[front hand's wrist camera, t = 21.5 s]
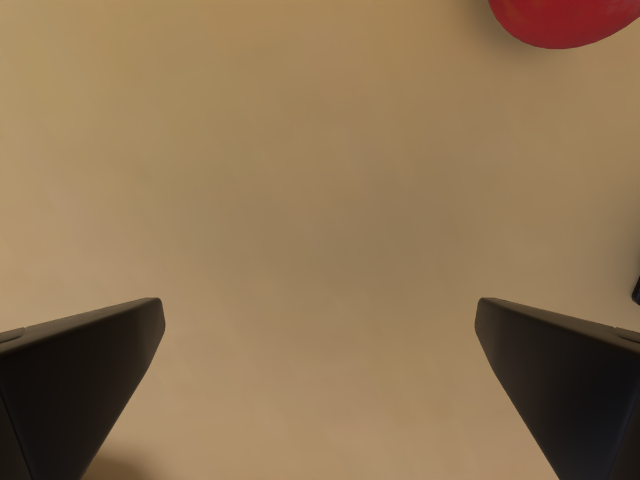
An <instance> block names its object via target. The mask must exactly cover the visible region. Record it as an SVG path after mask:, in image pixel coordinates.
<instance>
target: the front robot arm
mask: <svg viewBox="0 0 640 480" xmlns="http://www.w3.org/2000/svg"><path fill="white" fill-rule="evenodd" d="M632 300H633V301H634V302H635V303H637V304H638V305H640V277H639V280H638V282H637V284H636V286H635V289H634V291H633V293H632ZM164 331H165V318H164V312H163V306H162V302H161V300H160V299H159V298H142V299H138V300H134V301H130V302H126V303H122V304H118V305H114V306H110V307H106V308H102V309H98V310H94V311H90V312H86V313H82V314H77V315H73V316H69V317H65V318H61V319H57V320H53V321H49V322H45V323H41V324H37V325H33V326H29V327H26V329H25V328H24V327H23V328H18V329H14V330H10V331H6V332H2V333H0V480H81V478H82V476H83V475H84V473H85V471H86V470H87V468H88V467H89V465H90V463H91V462H92V460H93V458H94V457H95V455H96V453H97V452H98V450H99V449H100V447H101V445H102V444H103V442H104V440H105V439H106V437H107V435H108V434H109V432H110V431H111V429H112V427H113V426H114V424H115V422H116V421H117V419H118V417H119V416H120V414H121V413H122V411H123V409H124V408H125V406H126V404H127V403H128V401H129V399H130V398H131V396H132V395H133V393H134V391H135V390H136V388H137V386H138V385H139V383H140V381H141V380H142V378H143V377H144V375H145V373H146V371H147V370H148V368H149V366H150V364H151V361H152V359H153V357H154V355H155V352H156V350H157V348H158V346H159V343H160V341H161V339H162V336H163V334H164ZM475 331H476V334H477V336H478V339H479V341H480V343H481V346H482V348H483V350H484V352H485V355H486V357H487V359H488V361H489V364H490V366H491V368H492V370H493V371H494V373H495V375H496V377H497V378H498V380H499V381H500V383H501V385H502V386H503V388H504V390H505V391H506V393H507V395H508V396H509V398H510V399H511V401H512V403H513V404H514V406H515V408H516V409H517V411H518V413H519V414H520V416H521V417H522V419H523V421H524V422H525V424H526V426H527V427H528V429H529V431H530V432H531V434H532V435H533V437H534V439H535V440H536V442H537V444H538V445H539V447H540V449H541V450H542V452H543V453H544V455H545V457H546V458H547V460H548V462H549V463H550V465H551V467H552V468H553V470H554V471H555V473H556V475H557V476H558V478H559V480H640V333H638V332H634V331H630V330H626V329H622V328H617V327H616V328H615V329H614V327H611V326H607V325H603V324H599V323H595V322H591V321H587V320H583V319H579V318H575V317H571V316H567V315H563V314H558V313H554V312H550V311H546V310H542V309H538V308H534V307H530V306H526V305H522V304H518V303H514V302H510V301H506V300H502V299H498V298H481V299H480V300H479V302H478V306H477V312H476V318H475Z"/></svg>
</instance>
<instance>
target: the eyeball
mask: <svg viewBox="0 0 640 480" xmlns="http://www.w3.org/2000/svg"><path fill="white" fill-rule="evenodd" d="M488 1H489V4H490V7H491V9H492V11H493V13H494V15H495V17H496V19H497V20H498V21H499V22H500V24H501V25H502V26H503V28H504V29H506V30H507V31H508V32H509V33H510V34H511V35H512V36H514V37H516V38H517V39H519V40H521V41H522V42H524V43H527V44H530V45H533V46H536V47H541V48H547V49H567V48H575V47H580V46H584V45H587V44H591V43H594V42H597V41H599V40H601V39H604V38H606V37H608V36H611V35H612V34H614V33H616V32H618V31H619V30H621V29H623V28H625V27H626V26H628V25H629V24H630V23H632V22H633V21H634V20H636V19H637V18H638V17H640V0H488Z"/></svg>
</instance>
